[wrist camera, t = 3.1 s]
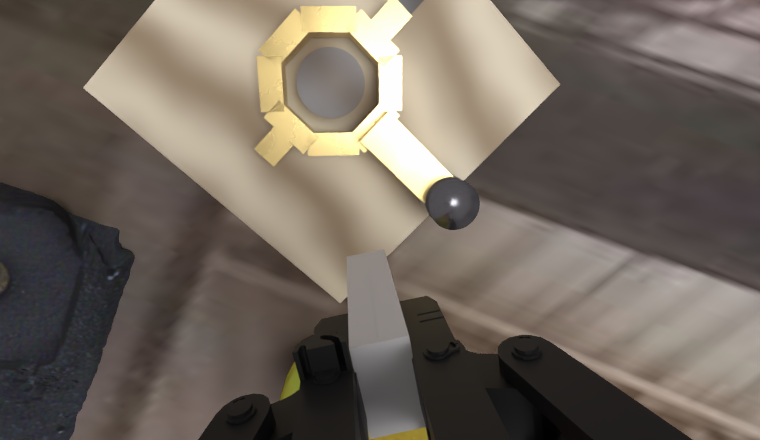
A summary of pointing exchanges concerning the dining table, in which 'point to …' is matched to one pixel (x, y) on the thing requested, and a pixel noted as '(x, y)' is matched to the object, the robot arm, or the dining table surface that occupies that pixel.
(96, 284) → the dark slate chunk
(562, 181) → the dining table surface
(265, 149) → the collar
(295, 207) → the post board
